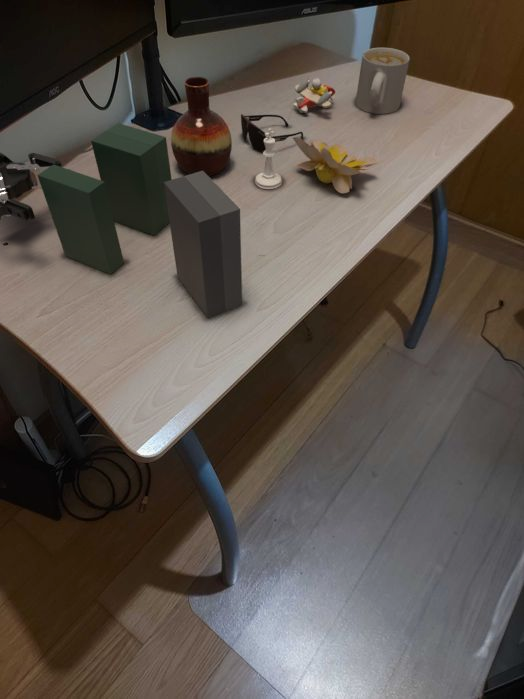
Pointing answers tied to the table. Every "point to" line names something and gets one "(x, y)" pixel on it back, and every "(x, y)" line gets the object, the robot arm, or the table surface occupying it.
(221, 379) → the table surface
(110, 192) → the green rectangular block
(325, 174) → the decorative flower
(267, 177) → the chess piece
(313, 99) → the toy airplane
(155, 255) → the table surface
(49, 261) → the table surface
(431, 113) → the table surface
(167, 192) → the grey faceted block
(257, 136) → the sunglasses
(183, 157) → the vase
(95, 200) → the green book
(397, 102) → the coffee mug
